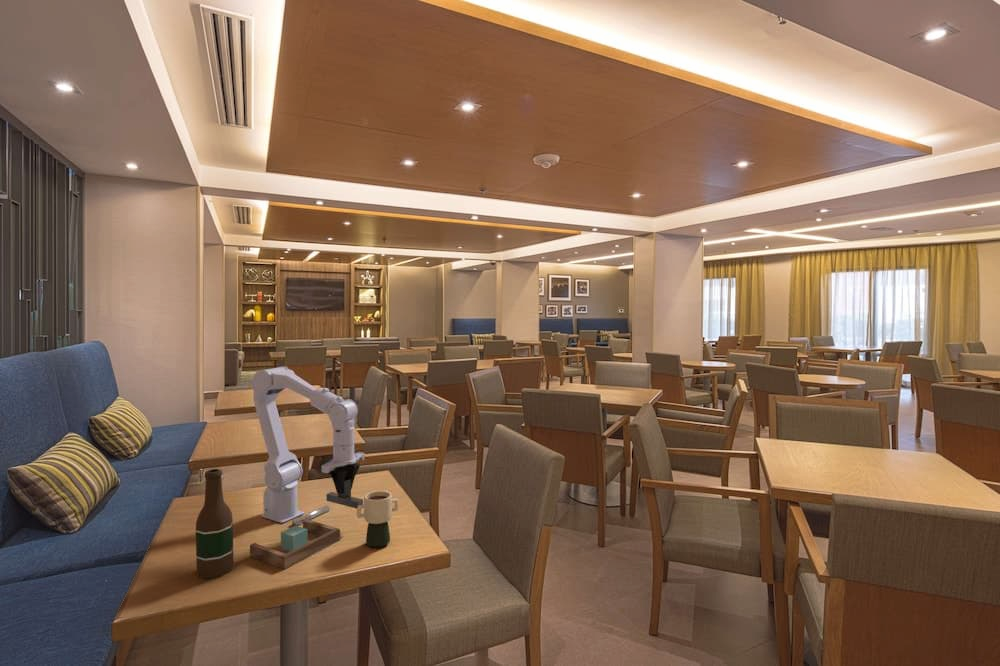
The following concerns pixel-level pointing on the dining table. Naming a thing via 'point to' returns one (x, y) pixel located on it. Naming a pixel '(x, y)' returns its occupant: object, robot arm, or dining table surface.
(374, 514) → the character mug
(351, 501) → the dark grey bar
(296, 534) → the teal block
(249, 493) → the dining table surface
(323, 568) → the dining table surface
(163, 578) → the dining table surface
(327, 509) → the steel rod
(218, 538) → the beer bottle
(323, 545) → the wooden u-shaped frame
